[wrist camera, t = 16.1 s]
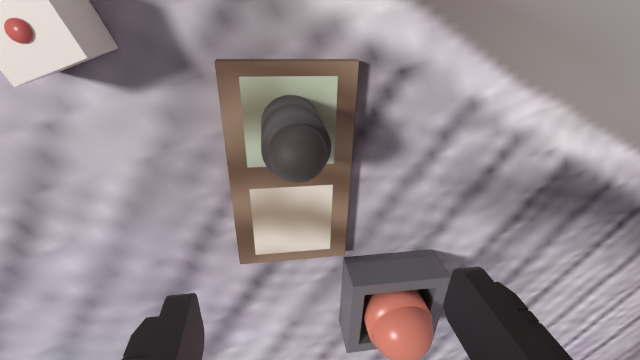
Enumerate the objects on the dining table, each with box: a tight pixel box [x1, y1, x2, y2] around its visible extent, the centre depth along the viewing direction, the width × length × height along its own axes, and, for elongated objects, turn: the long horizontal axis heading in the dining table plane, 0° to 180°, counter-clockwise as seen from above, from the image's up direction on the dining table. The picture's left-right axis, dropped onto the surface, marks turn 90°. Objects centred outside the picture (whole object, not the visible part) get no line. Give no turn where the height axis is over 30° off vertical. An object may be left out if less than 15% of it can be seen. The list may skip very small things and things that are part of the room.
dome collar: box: [339, 250, 451, 353], centre depth 34 cm, size 10×10×4 cm
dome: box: [362, 290, 433, 360], centre depth 32 cm, size 6×6×6 cm
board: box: [215, 59, 359, 264], centre depth 27 cm, size 18×10×1 cm, turn 179°
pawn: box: [261, 95, 331, 183], centre depth 21 cm, size 4×4×7 cm
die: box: [0, 0, 119, 87], centre depth 19 cm, size 4×4×4 cm
